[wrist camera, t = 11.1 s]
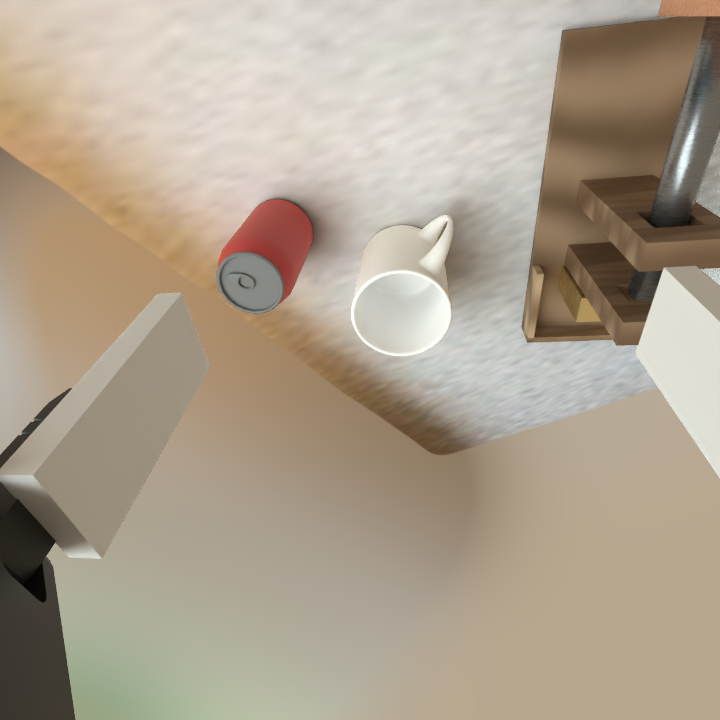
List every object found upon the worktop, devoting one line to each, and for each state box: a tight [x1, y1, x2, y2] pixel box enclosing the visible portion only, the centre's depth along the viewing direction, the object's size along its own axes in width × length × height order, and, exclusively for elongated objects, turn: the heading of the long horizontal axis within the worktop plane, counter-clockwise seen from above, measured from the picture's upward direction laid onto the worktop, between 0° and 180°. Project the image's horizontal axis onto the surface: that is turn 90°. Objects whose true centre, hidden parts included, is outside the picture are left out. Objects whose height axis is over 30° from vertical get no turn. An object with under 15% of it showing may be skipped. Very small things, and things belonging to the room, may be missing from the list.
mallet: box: [627, 0, 720, 302], centre depth 29 cm, size 22×4×8 cm, turn 6°
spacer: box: [557, 266, 601, 322], centre depth 42 cm, size 2×6×6 cm, turn 96°
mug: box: [351, 215, 454, 356], centre depth 42 cm, size 9×12×11 cm
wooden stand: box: [522, 16, 720, 345], centre depth 36 cm, size 27×12×15 cm, turn 6°
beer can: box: [216, 199, 313, 314], centre depth 41 cm, size 7×7×12 cm
